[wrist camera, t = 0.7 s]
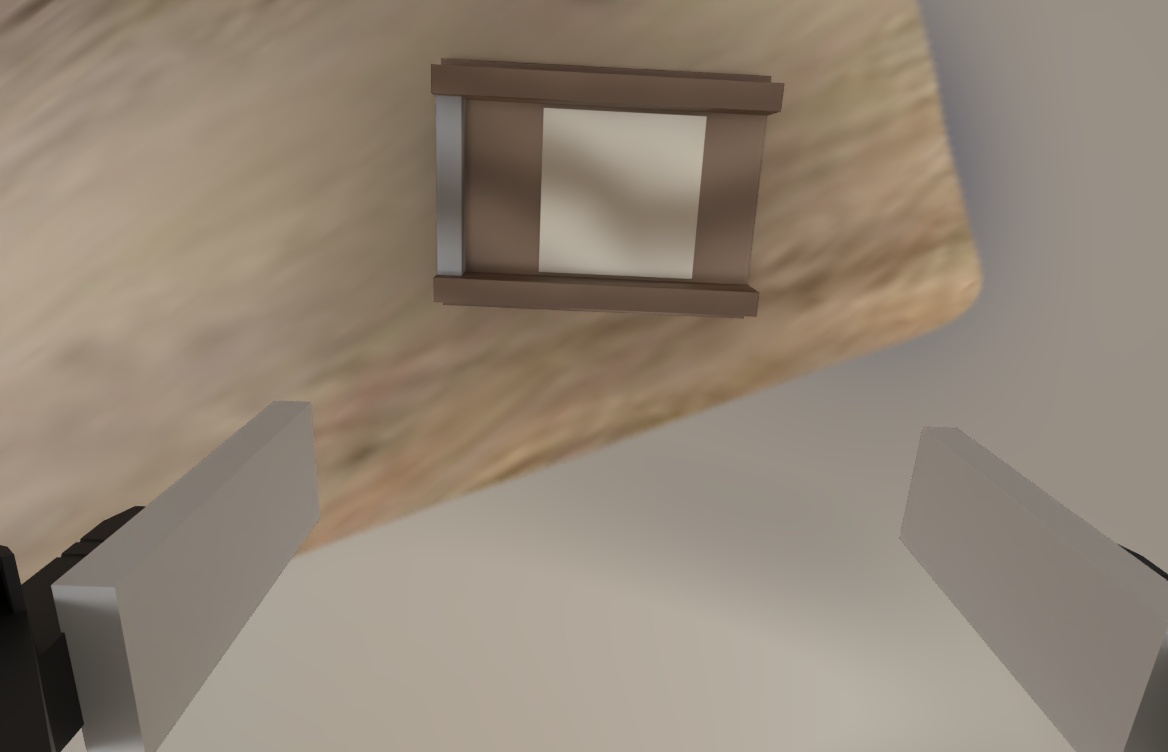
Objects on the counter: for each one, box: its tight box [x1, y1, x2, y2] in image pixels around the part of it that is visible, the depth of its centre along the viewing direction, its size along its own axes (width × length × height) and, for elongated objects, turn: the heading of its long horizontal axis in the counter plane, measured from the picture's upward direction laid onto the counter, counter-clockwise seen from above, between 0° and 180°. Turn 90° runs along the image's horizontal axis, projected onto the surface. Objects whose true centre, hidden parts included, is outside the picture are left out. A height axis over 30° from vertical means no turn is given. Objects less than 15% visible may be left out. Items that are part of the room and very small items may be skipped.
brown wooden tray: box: [431, 58, 784, 318], centre depth 35 cm, size 12×16×4 cm
